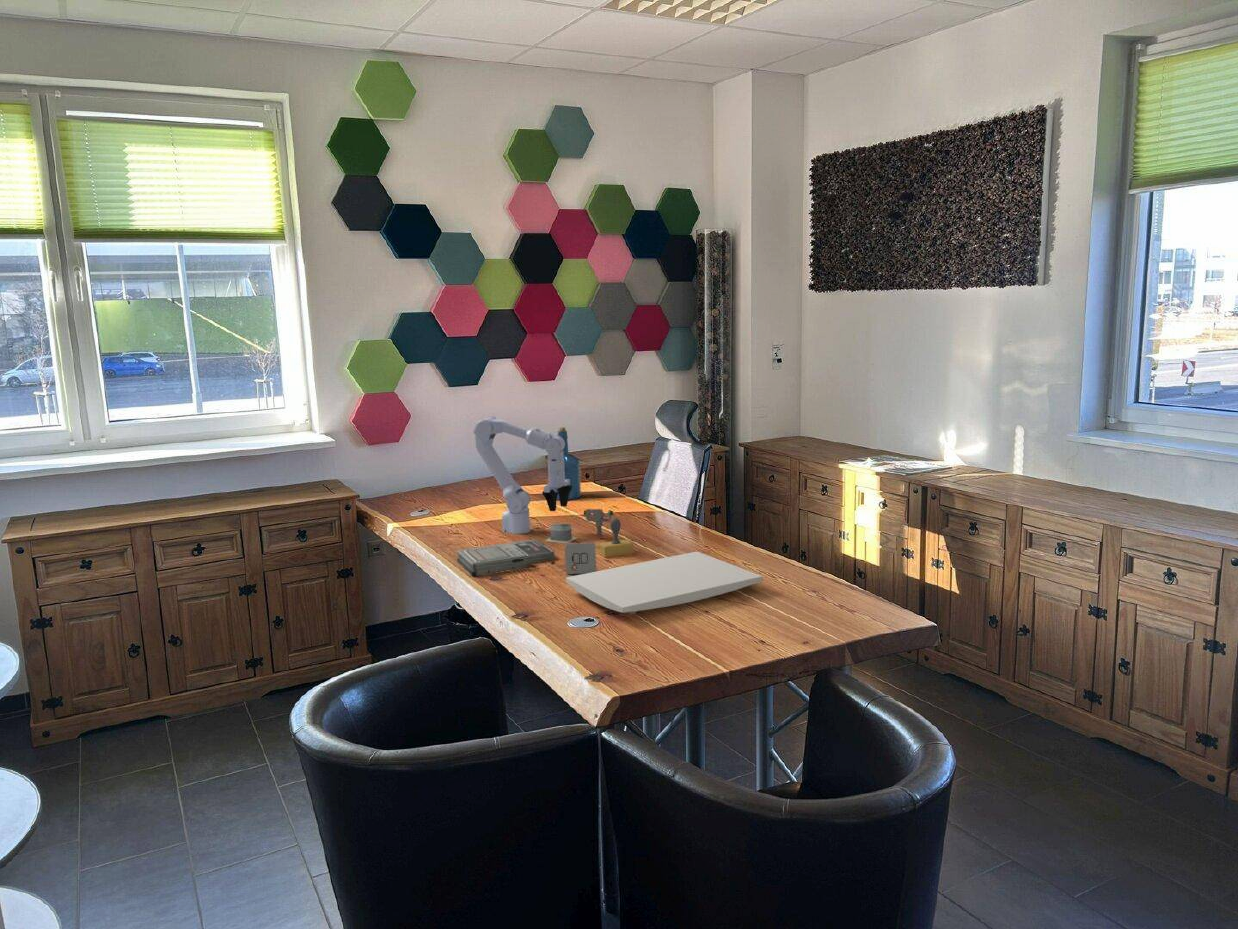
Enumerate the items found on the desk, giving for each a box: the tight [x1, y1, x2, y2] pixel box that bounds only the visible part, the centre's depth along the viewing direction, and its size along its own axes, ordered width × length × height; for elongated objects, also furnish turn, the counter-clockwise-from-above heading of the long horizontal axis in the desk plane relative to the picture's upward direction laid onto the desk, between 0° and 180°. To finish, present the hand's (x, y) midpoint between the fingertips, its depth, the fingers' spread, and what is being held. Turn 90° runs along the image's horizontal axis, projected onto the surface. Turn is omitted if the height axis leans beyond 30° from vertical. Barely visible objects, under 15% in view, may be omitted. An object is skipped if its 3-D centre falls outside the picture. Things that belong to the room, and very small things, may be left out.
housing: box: [549, 522, 573, 541], centre depth 316 cm, size 6×4×5 cm, turn 63°
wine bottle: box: [554, 426, 582, 501], centre depth 389 cm, size 14×13×30 cm
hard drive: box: [457, 539, 555, 578], centre depth 295 cm, size 18×27×4 cm
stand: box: [544, 536, 578, 544], centre depth 317 cm, size 9×7×2 cm
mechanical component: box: [583, 508, 614, 536], centre depth 322 cm, size 3×10×10 cm, turn 79°
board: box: [565, 551, 764, 615], centre depth 260 cm, size 45×32×5 cm
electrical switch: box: [564, 542, 597, 575], centre depth 282 cm, size 9×5×9 cm, turn 90°
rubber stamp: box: [598, 517, 634, 558], centre depth 301 cm, size 10×6×12 cm, turn 109°
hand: (558, 508), depth 326 cm, fingers open, 7 cm apart
